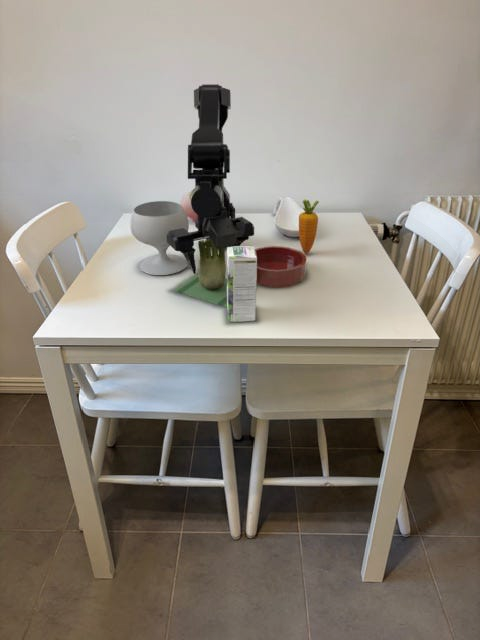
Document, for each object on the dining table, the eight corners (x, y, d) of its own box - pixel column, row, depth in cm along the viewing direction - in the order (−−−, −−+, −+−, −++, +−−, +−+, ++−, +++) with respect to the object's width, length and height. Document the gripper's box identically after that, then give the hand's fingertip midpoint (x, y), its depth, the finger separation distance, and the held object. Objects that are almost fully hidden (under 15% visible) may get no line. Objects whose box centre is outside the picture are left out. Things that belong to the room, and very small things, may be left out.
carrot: (317, 251, 129) (321, 196, 122) (313, 259, 125) (317, 202, 118) (298, 249, 131) (302, 195, 123) (294, 256, 127) (297, 200, 119)
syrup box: (226, 308, 104) (225, 246, 96) (253, 307, 104) (254, 245, 97) (228, 322, 99) (226, 257, 91) (256, 321, 99) (257, 256, 92)
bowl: (234, 278, 116) (233, 262, 114) (263, 256, 127) (264, 241, 125) (288, 293, 110) (289, 276, 107) (314, 269, 120) (316, 253, 118)
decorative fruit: (181, 216, 155) (179, 185, 149) (207, 214, 155) (205, 183, 150) (181, 226, 147) (179, 193, 141) (208, 225, 147) (207, 192, 142)
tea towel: (173, 290, 111) (173, 289, 111) (200, 272, 119) (200, 271, 119) (227, 307, 104) (227, 306, 104) (253, 287, 112) (253, 286, 112)
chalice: (151, 252, 130) (145, 197, 122) (199, 258, 126) (196, 202, 119) (125, 274, 119) (117, 215, 111) (177, 281, 115) (172, 221, 107)
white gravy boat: (319, 240, 136) (321, 215, 133) (279, 243, 135) (280, 218, 131) (297, 212, 156) (298, 190, 153) (261, 215, 155) (261, 193, 151)
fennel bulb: (227, 284, 113) (226, 236, 107) (221, 294, 109) (219, 244, 103) (204, 281, 114) (201, 233, 108) (197, 291, 110) (194, 242, 104)
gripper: (183, 220, 91) (188, 293, 99) (267, 204, 98) (266, 273, 107) (162, 204, 99) (169, 272, 107) (241, 191, 107) (242, 255, 115)
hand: (212, 269), depth 109 cm, fingers open, 9 cm apart
